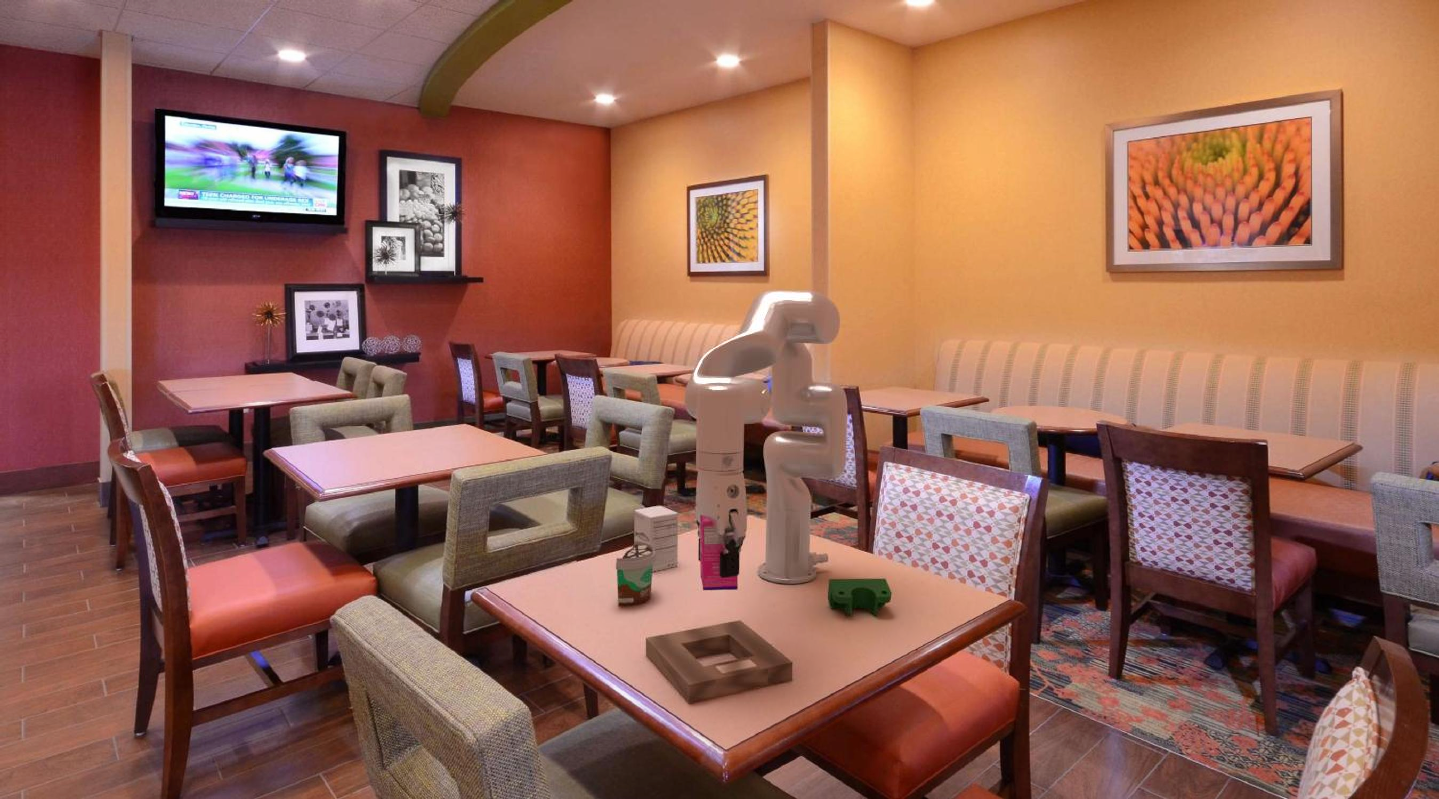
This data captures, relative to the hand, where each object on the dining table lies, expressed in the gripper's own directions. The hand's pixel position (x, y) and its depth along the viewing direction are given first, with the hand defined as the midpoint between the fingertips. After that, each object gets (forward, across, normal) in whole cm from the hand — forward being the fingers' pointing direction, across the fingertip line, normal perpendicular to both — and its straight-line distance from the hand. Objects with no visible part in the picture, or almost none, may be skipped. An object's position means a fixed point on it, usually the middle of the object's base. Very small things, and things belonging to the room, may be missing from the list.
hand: (718, 567), depth 131 cm
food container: (+17, +33, +1) cm, 37 cm away
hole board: (+17, 0, 0) cm, 17 cm away
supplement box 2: (+3, 0, 0) cm, 3 cm away
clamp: (+17, +10, -35) cm, 40 cm away
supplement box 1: (+17, +50, -9) cm, 54 cm away
